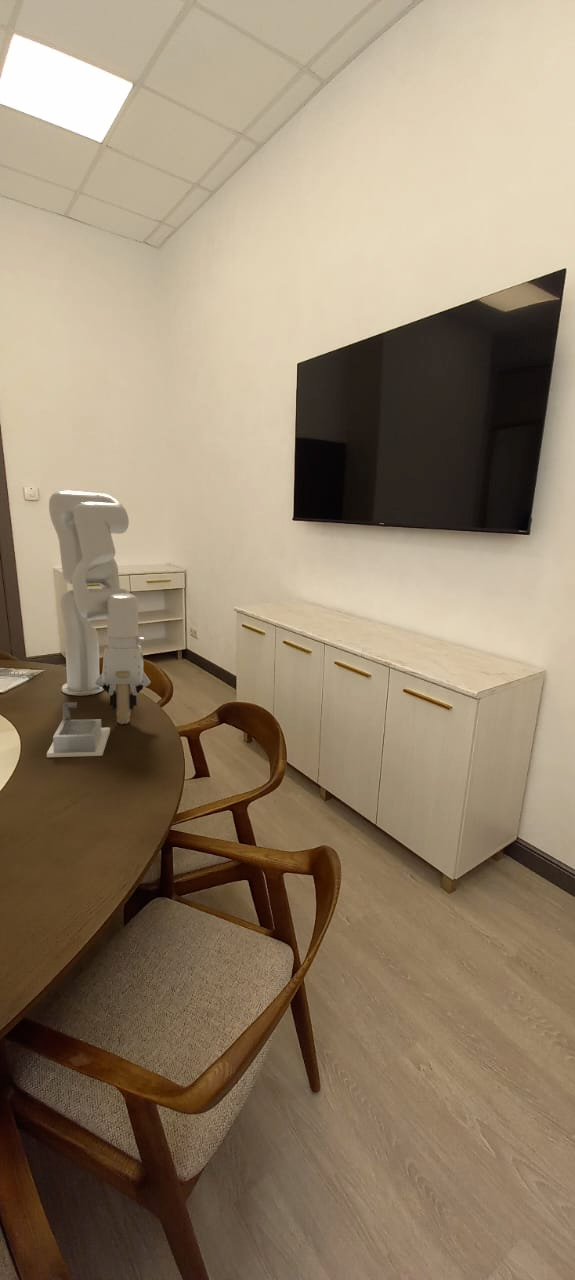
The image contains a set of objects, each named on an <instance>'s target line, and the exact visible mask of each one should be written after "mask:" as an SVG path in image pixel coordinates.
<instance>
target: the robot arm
mask: <svg viewBox="0 0 575 1280" xmlns="http://www.w3.org/2000/svg"><path fill="white" fill-rule="evenodd" d="M48 512H49V516H50V520H51V522H52V526H53V527H54V529H55V532H56V535H57V538H58V542H59V543H58V544H59V553H60V560H61V561H60V562H61V571H62V576H63V579H64V580H65V582H66V583H67V584H70V585H72V590H68V591H66V592H64V593H63V594H62V595H61V597H60V609H61V614H62V618H63V619H62V620H63V624H64V637H65V638H64V640H65V662H66V665H65V666H66V683H64V684H62V686H61V692H63V694H66V695H70V696H89V695H90V696H91V695H96V694H98V693H101V692H103V691H105V692H106V693H108V696H109V706H110V707H111V706H112V710H113V711H116V690H115V689H116V686H117V685H130V694H131V695H130V709H131V711H133V710H134V708H135V706H137V702H138V701H137V700H138V699H137V698H138V697H137V695H138V693H140V692H141V691H142V690H143V689H144V688H146V687H148V686H149V685H150V684H151V680H150V679H149V677H148V676H147V675H146V673H145V671H144V668H145V667H144V655H143V650H142V649H143V648H142V645H140V644H141V643H142V644H144V642H145V638H144V637H142V636H139V601H138V600H139V599H138V597H137V596H136V595H134V594H132V593H130V591H129V590H128V589H125V588H121V584H120V575H119V573H120V572H119V567H118V563H117V561H116V559H115V557H116V553H117V552H116V548H115V545H114V544H115V543H114V541H113V537H112V534H117V535H118V534H124V533H126V532H127V530H128V529H129V522H130V521H129V516H128V512H127V510H126V508H125V507H124V506H123V504H122V503H120V501H118V500H117V499H116V498H114V497H113V496H111V495H109V494H107V493H101V492H87V491H76V490H60V491H55V492H54V493H52V494H51V496H50V498H49V501H48ZM88 585H100V587H101V588H88ZM96 620H97V621H99V620H106V621H107V644H106V645H105V646H104V652H103V660H102V672H101V674H100V645H99V644H100V642H99V641H100V640H99V633H98V630H97V629H96V628H95V627H94V626H93V625H92V624H91V621H96ZM116 672H130V677H128V678H118V677H116Z"/></svg>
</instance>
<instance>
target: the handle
mask: <svg viewBox="0 0 575 1280" xmlns="http://www.w3.org/2000/svg"><path fill="white" fill-rule="evenodd" d="M116 677H118V678H128V677H130V672H116ZM115 689H116V690H115V692H116V709H115V713H116V722H117V724H120V725H124V724H125V725H126V724H128V723H130V721H131V711H132V710H131V709H130V695H131V685H116V686H115Z"/></svg>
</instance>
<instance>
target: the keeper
mask: <svg viewBox="0 0 575 1280" xmlns="http://www.w3.org/2000/svg"><path fill="white" fill-rule="evenodd" d="M77 708H78V703H77V702H75V701H74V702H64V703H63V704H62V720H61V722H60V723H59V725H58V727H57V729H56V731H55V732H54V734H53V736H52V743H51V745H50V747H49V749H47V752H46V758H66V757H67V758H68V757H69V758H71V757H72V758H73V757H98V756H99V757H100V756H102V757H103V755H104V751H105V749H106V746H107V742H108V739H109V736H110V732H111V727H103V725H102V719H101V718H97V719H96V718H93V719H87V718H85V719H71V709H77Z"/></svg>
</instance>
